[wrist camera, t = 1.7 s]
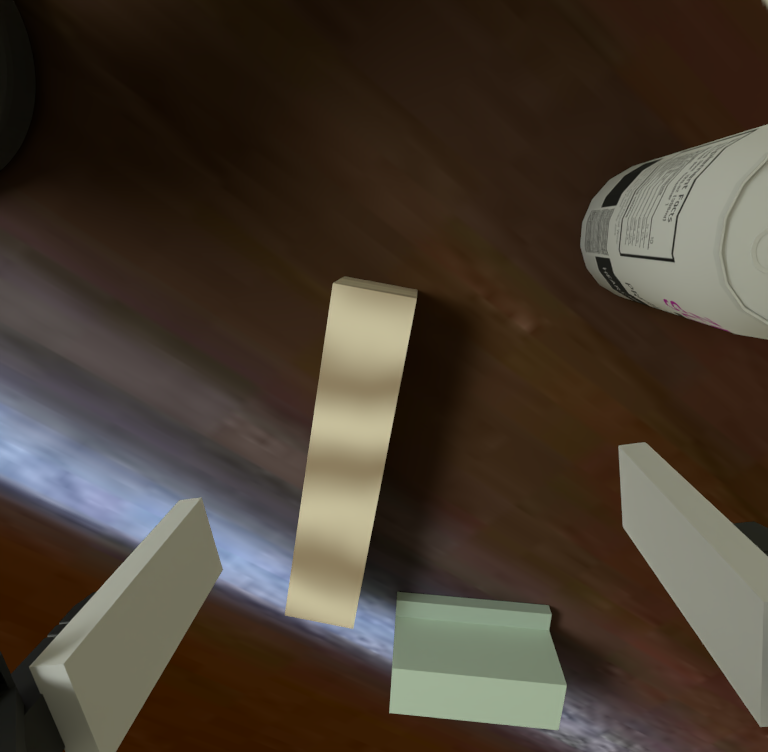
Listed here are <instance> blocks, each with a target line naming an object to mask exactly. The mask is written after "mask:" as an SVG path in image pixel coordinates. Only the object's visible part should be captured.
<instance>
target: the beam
mask: <svg viewBox="0 0 768 752" xmlns="http://www.w3.org/2000/svg"><path fill="white" fill-rule="evenodd" d="M416 301H417V290H416V289H410V288H405V287H399V286H394V285H389V284H383V283H378V282H372V281H367V280H362V279H356V278H351V277H345V276H344V277H343V278H341V279H339V280H337V281H336V282H334V283H333V286H332V293H331V300H330V307H329V314H328V321H327V328H326V335H325V342H324V348H323V355H322V362H321V369H320V376H319V383H318V390H317V397H316V404H315V411H314V417H313V424H312V431H311V438H310V445H309V452H308V459H307V466H306V473H305V479H304V486H303V493H302V500H301V507H300V514H299V521H298V528H297V535H296V542H295V548H294V555H293V562H292V569H291V576H290V583H289V590H288V597H287V604H286V610H285V615H286V616H291V617H296V618H301V619H306V620H311V621H316V622H321V623H326V624H331V625H337V626H342V627H347V628H352V629H353V626H354V621H355V616H356V611H357V606H358V600H359V595H360V590H361V585H362V580H363V575H364V569H365V564H366V559H367V554H368V549H369V544H370V538H371V533H372V528H373V523H374V518H375V513H376V507H377V502H378V497H379V492H380V487H381V482H382V476H383V471H384V466H385V461H386V456H387V451H388V445H389V440H390V435H391V430H392V425H393V420H394V414H395V409H396V404H397V399H398V394H399V389H400V383H401V378H402V373H403V368H404V363H405V358H406V352H407V347H408V342H409V337H410V332H411V327H412V321H413V316H414V311H415V306H416Z"/></svg>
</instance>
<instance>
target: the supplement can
mask: <svg viewBox="0 0 768 752" xmlns="http://www.w3.org/2000/svg"><path fill="white" fill-rule="evenodd" d="M580 247H581V250H582V254H583V258H584V261H585V265H586V268H587V269H588V271H589V272H590V273H591V274H592V276H593V277H594V278H595V280H596V281H597V282H598V284H599V285H600V286H602V287H604V288H606V289H607V290H609V291H611V292H612V293H614V294H616V295H617V296H620V297H623V298H626V299H629V300H632V301H635V302H638V303H642V304H645V305H648V306H651V307H654V308H657V309H660V310H663V311H666V312H669V313H672V314H676V315H679V316H682V317H685V318H688V319H691V320H694V321H697V322H700V323H703V324H707V325H710V326H713V327H716V328H719V329H722V330H725V331H728V332H731V333H734V334H738V335H744V336H750V337H756V338H762V339H768V124H767V125H764V126H761V127H757V128H754V129H751V130H748V131H745V132H741V133H738V134H735V135H732V136H728V137H725V138H722V139H719V140H716V141H712V142H709V143H706V144H703V145H699V146H696V147H693V148H690V149H687V150H683V151H680V152H677V153H674V154H670V155H667V156H664V157H661V158H657V159H654V160H651V161H648V162H645V163H641V164H638V165H635V166H632V167H630V168H629V169H627V170H625V171H623V172H622V173H620V174H618V175H617V176H615V177H613V178H612V179H610V180H609V181H608V182H607V183H606V184H605V185H604V187H603V188H602V189H601V190H600V191H599V192H598V193H597V194H596V196H595V197H594V198H593V199H592V201H591V203H590V206H589V208H588V210H587V212H586V215H585V217H584V219H583V222H582V231H581V243H580Z"/></svg>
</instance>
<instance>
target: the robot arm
mask: <svg viewBox="0 0 768 752" xmlns="http://www.w3.org/2000/svg"><path fill="white" fill-rule="evenodd" d="M35 92H36V78H35V65H34V59H33V53H32V49H31V44H30V41H29V37H28V34H27V31H26V28H25V25H24V22H23V20H22V18H21V15H20V13H19V11H18V9H17V7H16V5H15V3H14V1H13V0H0V171H1V170H2V169H3V168H4V167H5V166H6V165H7V164H8V163H9V162H10V161H11V160H12V158H13V157H14V156H15V154H16V153H17V151H18V150H19V148H20V147H21V145H22V143H23V141H24V139H25V137H26V134H27V132H28V129H29V126H30V123H31V119H32V115H33V110H34V104H35ZM618 447H619V466H620V484H621V502H622V520H623V528H624V529H625V531H626V532H627V534H628V535H629V536H630V538H631V539H632V541H633V542H634V544H635V545H636V547H637V548H638V550H639V551H640V553H641V554H642V555H643V557H644V558H645V560H646V561H647V563H648V564H649V566H650V567H651V569H652V570H653V571H654V573H655V574H656V576H657V577H658V579H659V580H660V582H661V583H662V585H663V586H664V587H665V589H666V590H667V592H668V593H669V595H670V596H671V598H672V599H673V601H674V602H675V603H676V605H677V606H678V608H679V609H680V611H681V612H682V614H683V615H684V617H685V618H686V619H687V621H688V622H689V624H690V625H691V627H692V628H693V630H694V631H695V633H696V634H697V635H698V637H699V638H700V640H701V641H702V643H703V644H704V646H705V647H706V649H707V650H708V651H709V653H710V654H711V656H712V657H713V659H714V660H715V662H716V663H717V665H718V666H719V667H720V669H721V670H722V672H723V673H724V675H725V676H726V678H727V679H728V681H729V682H730V684H731V685H732V686H733V688H734V689H735V691H736V692H737V694H738V695H739V697H740V698H741V700H742V701H743V702H744V704H745V705H746V707H747V708H748V710H749V711H750V713H751V714H752V716H753V717H754V718H755V720H756V721H757V723H758V724H759V726H760V727H767V726H768V528H766V527H764V526H762V525H760V524H758V523H756V522H744V523H735V524H732V523H731V522H730V521H729V520H728V519H727V518H726V517H725V516H724V515H723V514H722V513H721V512H720V511H718V510H717V509H716V508H715V507H714V506H713V505H712V504H711V503H710V502H709V501H708V500H707V499H706V498H705V497H703V496H702V495H701V494H700V493H699V492H698V491H697V490H696V489H695V488H694V487H693V486H692V485H691V484H690V483H688V482H687V481H686V480H685V479H684V478H683V477H682V476H681V475H680V474H679V473H678V472H677V471H676V470H675V469H673V468H672V467H671V466H670V465H669V464H668V463H667V462H666V461H665V460H664V459H663V458H662V457H661V456H660V455H658V454H657V453H656V452H655V451H654V450H653V449H652V448H651V447H650V446H649V445H648V444H647V443H646V442H643V443H635V444H627V445H619V446H618ZM222 570H223V569H222V566H221V562H220V559H219V555H218V552H217V549H216V545H215V542H214V538H213V535H212V532H211V528H210V525H209V521H208V518H207V515H206V511H205V508H204V504H203V501H202V498H194V499H186V500H179V501H178V502H177V504H176V505H175V506H174V507H173V508H172V509H171V510H170V511H169V512H168V514H167V515H166V516H165V517H164V518H163V519H162V520H161V521H160V522H159V524H158V525H157V526H156V527H155V528H154V529H153V530H152V531H151V532H150V533H149V535H148V536H147V537H146V538H145V539H144V540H143V541H142V542H141V543H140V545H139V546H138V547H137V548H136V549H135V550H134V551H133V552H132V553H131V555H130V556H129V557H128V558H127V559H126V560H125V561H124V562H123V563H122V564H121V566H120V567H119V568H118V569H117V570H116V571H115V572H114V573H113V574H112V576H111V577H110V578H109V579H108V580H107V581H106V582H105V583H104V584H103V586H102V587H101V588H100V589H99V590H98V591H97V592H93V593H92V594H91V595H89V596H88V597H86V598H85V599H84V600H82V601H81V602H80V603H78V604H77V605H75V606H74V607H73V608H72V609H71V610H70V611H69V612H68V613H67V615H66V616H65V617H64V618H63V619H62V620H61V621H60V624H59V625H56V626H55V627H54V629H53V630H52V631H51V632H50V633H49V634H48V637H47V638H44V639H43V640H42V641H41V643H40V644H39V645H38V646H37V647H36V648H35V649H34V650H33V651H32V652H31V653H30V654H29V655H28V657H27V658H26V659H25V660H24V661H23V662H22V663H21V664H20V665H19V666H18V667H17V668H16V669H15V671H14V672H13V673H12V674H10V672H9V669H8V667H7V665H6V663H5V660H4V658H3V656H2V654H1V652H0V752H62V751H63V750H64V749H65V751H66V752H116V750H117V749H118V747H119V745H120V743H121V742H122V740H123V738H124V737H125V735H126V733H127V732H128V730H129V728H130V726H131V725H132V723H133V721H134V720H135V718H136V716H137V715H138V713H139V711H140V709H141V708H142V706H143V704H144V703H145V701H146V699H147V698H148V696H149V694H150V692H151V691H152V689H153V687H154V686H155V684H156V682H157V681H158V679H159V677H160V675H161V674H162V672H163V670H164V669H165V667H166V665H167V664H168V662H169V660H170V658H171V657H172V655H173V653H174V652H175V650H176V648H177V647H178V645H179V643H180V642H181V640H182V638H183V636H184V635H185V633H186V631H187V630H188V628H189V626H190V625H191V623H192V621H193V619H194V618H195V616H196V614H197V613H198V611H199V609H200V608H201V606H202V604H203V602H204V601H205V599H206V597H207V596H208V594H209V592H210V591H211V589H212V587H213V585H214V584H215V582H216V580H217V579H218V577H219V575H220V574H221V572H222Z"/></svg>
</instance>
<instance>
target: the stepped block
mask: <svg viewBox="0 0 768 752" xmlns="http://www.w3.org/2000/svg"><path fill="white" fill-rule="evenodd" d="M551 616H552V614H551V611H550V608H549V605H540V604H528V603H517V602H506V601H495V600H484V599H473V598H462V597H450V596H439V595H428V594H417V593H406V592H397V605H396V619H395V634H394V649H393V663H392V680H391V695H390V711H389V713H396V714H406V715H416V716H425V717H435V718H445V719H455V720H464V721H474V722H484V723H494V724H503V725H513V726H523V727H533V728H543V729H552V730H559V724H560V719H561V714H562V708H563V703H564V698H565V693H566V687H567V684H566V681H565V678H564V675H563V672H562V669H561V666H560V663H559V660H558V656H557V653H556V650H555V647H554V644H553V641H552V638H551V635H550V632H549V628H550V622H551Z"/></svg>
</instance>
